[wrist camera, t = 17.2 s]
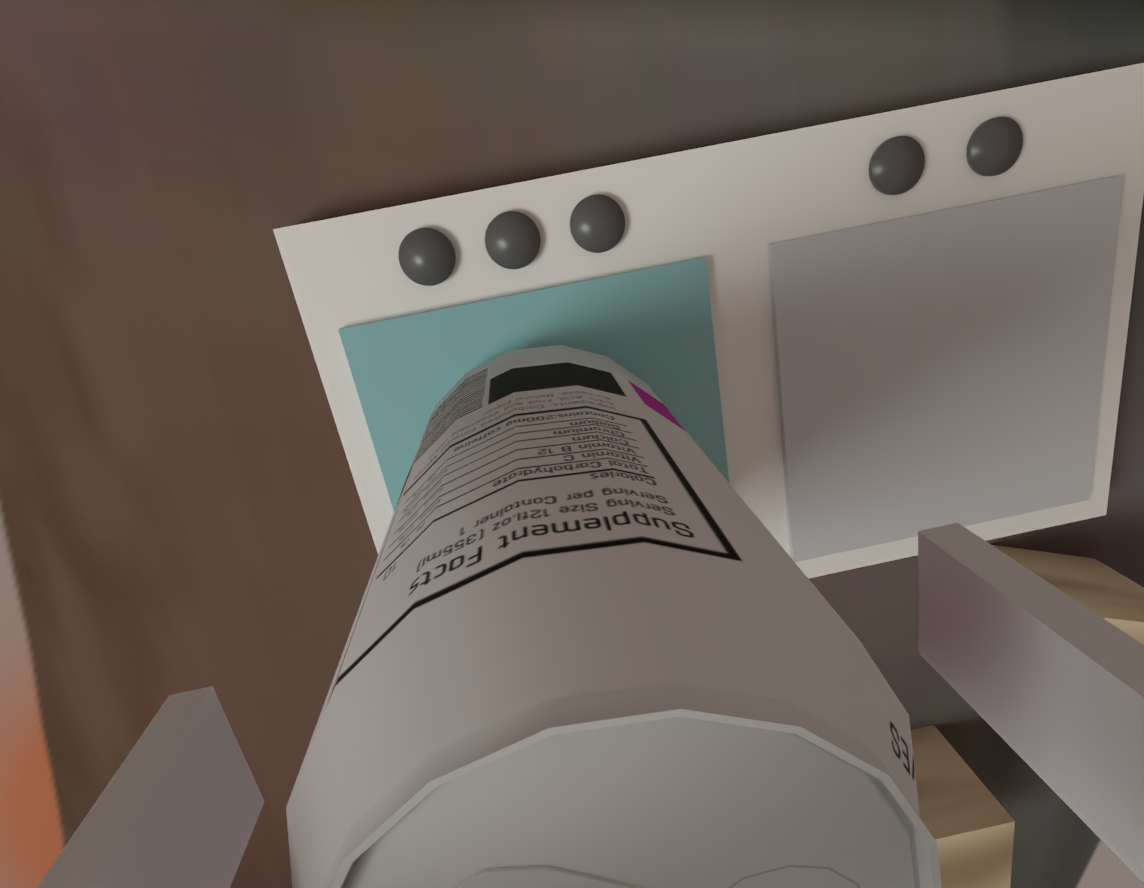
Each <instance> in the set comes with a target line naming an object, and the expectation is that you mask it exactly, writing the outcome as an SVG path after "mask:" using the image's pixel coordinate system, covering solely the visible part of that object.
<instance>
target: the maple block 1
mask: <svg viewBox="0 0 1144 888" xmlns="http://www.w3.org/2000/svg"><path fill="white" fill-rule="evenodd" d="M911 738H912V747H913V757H914V766H915V775H916V784H917V793H918V802H919V812H920V819H921V820H922V822H923V823H924V825H925V826H926V828H927V829H928V831H929V832H930V833H931V835H932V836H933V838H934V839H935V841H936V842H937V847H938V857H939V867H940V877H941V887H942V888H1010V883H1011V869H1012V855H1013V841H1014V827H1015V821H1014V820H1013V819H1012V817H1011V816H1010V815H1009V814H1008V813H1007V811H1006V810H1005V809H1004V808H1003V807H1002V805H1001V804H1000V803H999V802H998V801H997V800H996V798H995V797H994V796H993V795H992V794H991V792H990V791H989V790H988V789H987V788H986V786H985V785H984V784H983V783H982V782H981V780H980V779H979V778H978V777H977V776H976V774H975V773H974V772H973V771H972V770H971V769H970V767H969V766H968V765H967V764H966V763H965V761H964V760H963V759H962V758H961V757H960V755H959V754H958V753H957V752H956V751H955V749H954V748H953V747H952V746H951V745H950V743H949V742H948V741H947V740H946V739H945V738H944V736H943V735H942V734H941V733H940V732H939V730H938V729H937V728H936V727H935V726H934V725H931V726H927V727H922V728H918V729H913V730H911Z"/></svg>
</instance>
